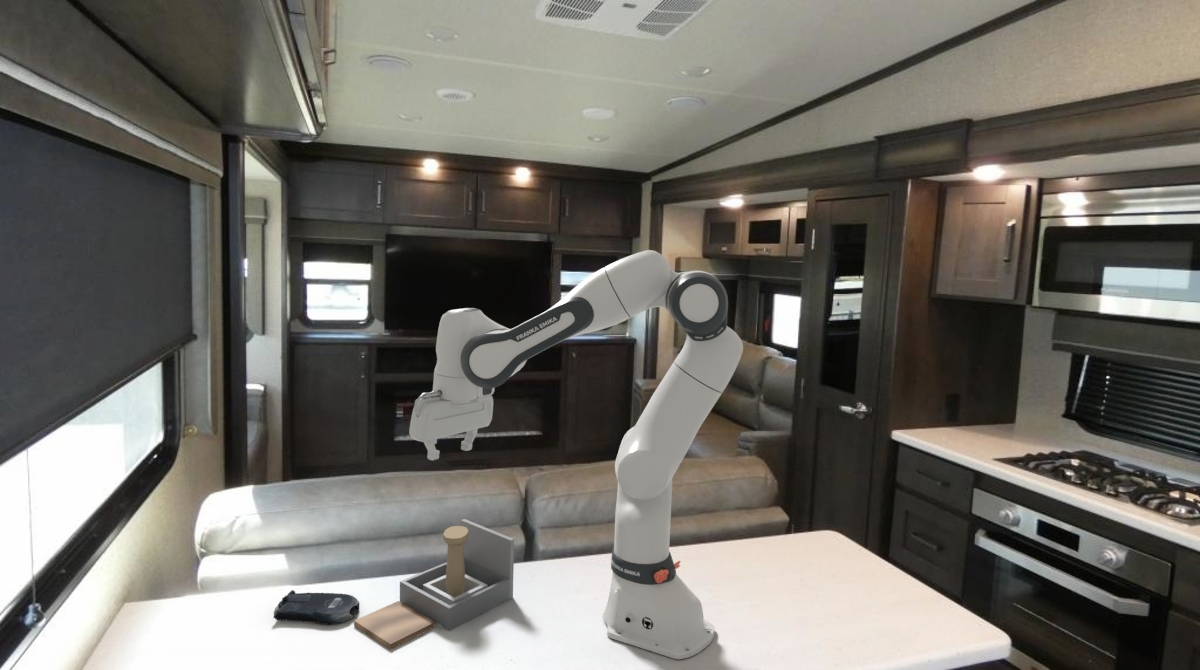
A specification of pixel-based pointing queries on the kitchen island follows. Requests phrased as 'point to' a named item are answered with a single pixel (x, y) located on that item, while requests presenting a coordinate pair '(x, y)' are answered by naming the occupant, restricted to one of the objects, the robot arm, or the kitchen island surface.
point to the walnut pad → (394, 624)
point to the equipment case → (483, 580)
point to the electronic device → (316, 607)
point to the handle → (455, 559)
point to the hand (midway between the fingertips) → (450, 454)
